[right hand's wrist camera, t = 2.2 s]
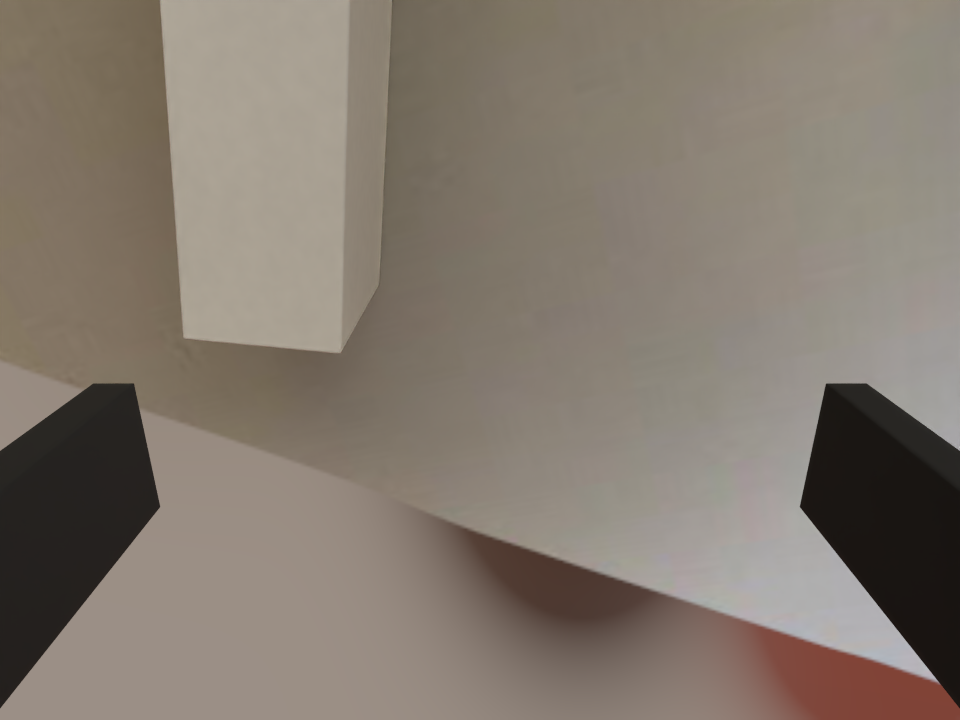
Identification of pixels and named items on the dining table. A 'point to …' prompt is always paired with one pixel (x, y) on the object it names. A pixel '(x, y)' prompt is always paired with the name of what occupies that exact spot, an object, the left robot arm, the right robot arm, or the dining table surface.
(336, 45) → the bar
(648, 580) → the dining table surface
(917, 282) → the dining table surface
